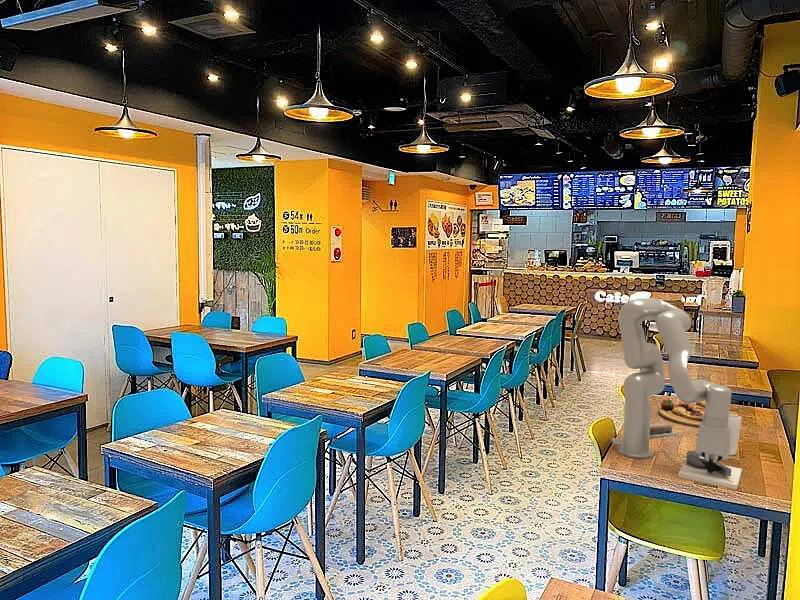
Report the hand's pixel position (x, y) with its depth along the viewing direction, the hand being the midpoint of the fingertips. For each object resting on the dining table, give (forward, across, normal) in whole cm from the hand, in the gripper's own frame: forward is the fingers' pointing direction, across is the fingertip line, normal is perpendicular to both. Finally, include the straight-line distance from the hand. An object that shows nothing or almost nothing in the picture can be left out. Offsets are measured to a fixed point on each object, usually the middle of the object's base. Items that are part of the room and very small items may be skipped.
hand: (710, 471), depth 210 cm
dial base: (+2, 0, +4) cm, 4 cm away
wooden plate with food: (+4, -15, +77) cm, 79 cm away
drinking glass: (+3, +3, +33) cm, 33 cm away
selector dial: (+1, -1, +5) cm, 5 cm away
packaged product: (+4, -26, +39) cm, 48 cm away
